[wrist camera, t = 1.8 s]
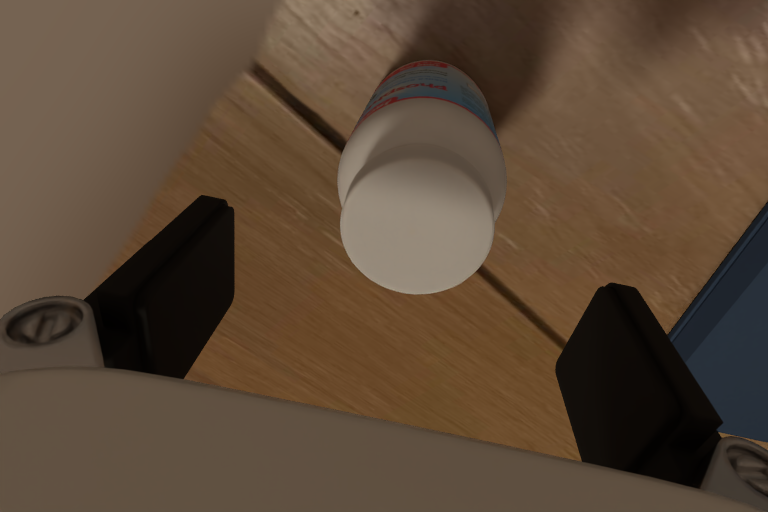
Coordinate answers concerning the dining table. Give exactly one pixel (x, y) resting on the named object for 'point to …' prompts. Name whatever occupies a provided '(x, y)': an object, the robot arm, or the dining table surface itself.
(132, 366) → the robot arm
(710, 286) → the book
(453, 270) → the pill bottle
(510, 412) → the dining table surface
